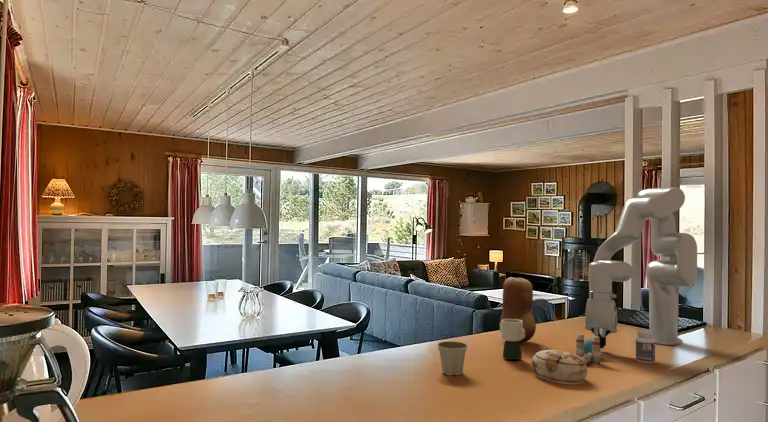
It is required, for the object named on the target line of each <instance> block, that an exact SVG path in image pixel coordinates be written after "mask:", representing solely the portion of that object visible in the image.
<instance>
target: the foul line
mask: <svg viewBox="0 0 768 422" xmlns="http://www.w3.org/2000/svg"><path fill="white" fill-rule="evenodd" d="M601 356H602V357H606V358H607V357H608V358H614V359H620V356H615V355H609V354H608V355H607V354H602V353H600V357H601Z"/></svg>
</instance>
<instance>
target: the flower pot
mask: <svg viewBox="0 0 768 422" xmlns="http://www.w3.org/2000/svg"><path fill="white" fill-rule="evenodd" d="M436 345H437V347H438V351H439V357H440V363H441V372H442V374H443V375H447V376H449V377H450V376H453V375H454V376H461V375H462V374H463V373H464V364H465V356H466V352H467V349H468V348H469V345H468V344H467V343H465V342H462V341H455V340H454V341H452V340H451V341H450V340H448V341H440V342H438V343H437V344H436Z"/></svg>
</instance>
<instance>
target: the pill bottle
mask: <svg viewBox="0 0 768 422" xmlns="http://www.w3.org/2000/svg"><path fill="white" fill-rule="evenodd" d="M636 332H637V333H636V334H637V337H636V338H635V360H636V361H637V362H638V363H643V364H655V363H656V345H655V344H656V343H655V340H654V339H653V338H652V337H653V332H651V331H650V330H646V329H645V330H644V329H643V330H641V329H639V330H637V331H636Z"/></svg>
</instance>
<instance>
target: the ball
mask: <svg viewBox="0 0 768 422" xmlns="http://www.w3.org/2000/svg"><path fill="white" fill-rule="evenodd" d="M587 353H592V338H589V339H586V340H585V339H584V356H585V355H586V354H587Z"/></svg>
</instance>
